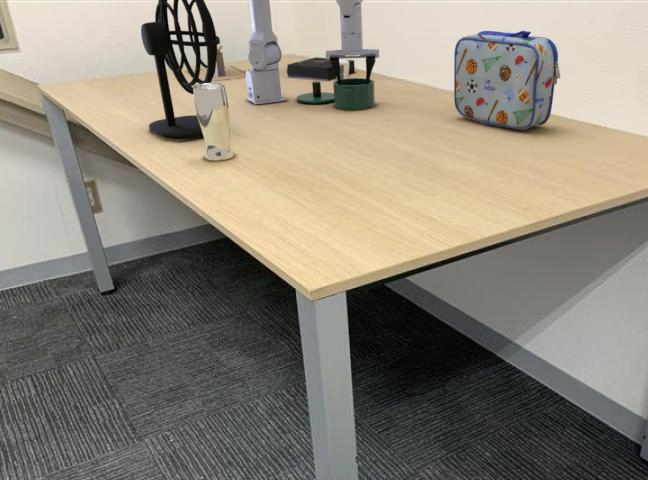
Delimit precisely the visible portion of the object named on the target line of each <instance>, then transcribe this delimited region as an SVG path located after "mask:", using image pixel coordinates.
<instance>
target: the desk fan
mask: <svg viewBox="0 0 648 480" xmlns="http://www.w3.org/2000/svg"><path fill="white" fill-rule="evenodd" d="M179 1H180V0H173V6H172V5H171V4H170V3H169V2H168V0H158V1H157V4H156V7H155V12H154V13H155V15H154V20H155V21H151V22H144V23H143V24H141V26H140V35H141V40H142V45H143V47H144V50H145V51H146V54H148V55H149V56H153V58H154V62H155V68H156V74H157V79H158V84H159V90H160V96H161V100H162V106H163V112H164V116H165V118H162V119H157V120H154V121H152V122H150V123H149V124H148V129H149V131H150V132H152V133H154V134H155V135H158V136H159V137H161V138H163V139H168V140H176V141H179V140H180V141H181V140H183V141H184V140H191V139H197V138H198V139H199V138H202V137H203V134H202V131H201V128H200V125H199V122H198V118H197V115H196V114H195V115H192V114H191V115H182V116H181V115H180V116H175V111H174V105H173V99H172V94H171V88H170V83H169V77H168V72H167V67H168V69H169V70H170V71H171V72H172V74H173V75H174V78H175V79H176V81H177V83H178V84H179V85H180V87H181V88H182V89H183V90H184V91H185V92H187V93H188V94H191V95H194V93H193V86H195V85H197V84H204V83H212V82H213V81H212V79H213V76H214V73H215V69H216V58H217V49H218V46H219V45H221V40H220V37H219V36H218V35H217V32H216V28H215V27H216V26H215V23H214V20H213V17H212V15H211V13H210V11H209V8H208V7H207V4H206V2H205V0H191V1H190V2H189V1H188V0H181V2H182V4H183V7H184V9H185V10H186V14H187V29H188V30H182V29H181V25H180V22H179ZM194 4H195V5H196V8H197V10H198V13H199V16H200V20H201V24H202V25H201V30H202V32H201V31H198V29H197V28H198V27H197V24H196V20H195V16H194V14H193V11H192V9H193V6H194ZM168 10H169V12H170V13H171V16H172V18H173V26H174V30H170V26H169V25H170V24H169V15H168ZM172 36H175V37H176V39H172ZM183 36H189V41H187V40H186V41H185V40H184V38H183ZM199 37H202V38H203V40H204V41H200V38H199ZM173 45H174V46H178V50H179V53H180V63H179V62H178V59H177V56H176V51H175V49H174V46H173ZM185 47H191V48H192V50H193V54H194V55H195V69H193V68H192V66H191V65H190V63H189V60H188V58H187V55H186V52H185ZM201 47H206V59H207V62H206V63H207V64H206V63H204V62H203V59H202V57H201ZM184 66H185V68H186V71H187V73H189V75H190V76H191V78H192V79H191V81H190V82H189V81H188V80H187V78H186V77H185V74H184V73H183V68H184ZM201 67H203V68H204V69H207V73H206V77H205V80H204V81H202V80H200V79H199V74H200V70H201ZM193 70H195V73H194V72H193ZM203 138H204V137H203Z"/></svg>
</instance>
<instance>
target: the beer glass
mask: <svg viewBox="0 0 648 480" xmlns="http://www.w3.org/2000/svg"><path fill="white" fill-rule="evenodd" d="M192 87H193V93H194V94H193V102H194V110H195V115H196V116H197V118H198V122H199V125H200V128H201V131H202V134H203V140H204V158H205V160H207V161H211V162H220V161H226V160H229V159H232V158H234V152H233V150H232V147H231V142H230V135H229V134H230V106H229V100H228V95H227V91H226V85H225V83H221V82H211V83H204V84H199V83H197V84H195V85H193V86H192Z"/></svg>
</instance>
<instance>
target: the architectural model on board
mask: <svg viewBox="0 0 648 480" xmlns="http://www.w3.org/2000/svg"><path fill="white" fill-rule="evenodd" d="M223 47H224V46H223V45H222V44H219V45H218V47H217V58H216V69H215V73H214V76H213V79H212V81H211V82H216V81H226V80H235V79H246V73H244V72H242V71H240V70H238V69H236V68H234V67H232V66H225V62H224V61H225V60H224V54H223V52H222V51H221V50H222V49H223ZM192 70H193V72H194V73H195V69H192ZM206 73H207V68H202V69H200V74H199V79H200V80H202V81H204V80H205V77H206Z"/></svg>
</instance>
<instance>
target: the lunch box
mask: <svg viewBox="0 0 648 480" xmlns="http://www.w3.org/2000/svg"><path fill="white" fill-rule="evenodd" d="M531 33H532V32H531V31H528V30H520V31H517V32H503V31H494V30H483V31H479V32H477V33H475V34H469V35H466V36H462V37H461V38H460V39H458V40H457V42H456V44H455V47H454V54H453V55H454V57H453V59H454V61H453V63H454V66H453V80H454V81H453V82H454V83H453V98H454V106H455V109H456V111H457V112H458V113H459V115H461V116H462V117H464V118H466V119H468V120H473V121H476V122H479V123H483V124H487V125H492V126H496V127H501V128H507V129H514V130H528V129H530V128H531V127H532V128H533V127H536V126H541V125H545V124H547V122H548V120H549V119H550V117H551V113H552V108H553V107H552V106H553V102H554V101H553V100H554V91H555V86H556V85H557V84H558V79H561V69H560V66H559V53H558V48H557V46H556V43H554V42H553V41H552V40H551V39H549V37H548V38H547V37H544V36H543V37H542V36H533V35H532V36H530V35H531Z"/></svg>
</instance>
